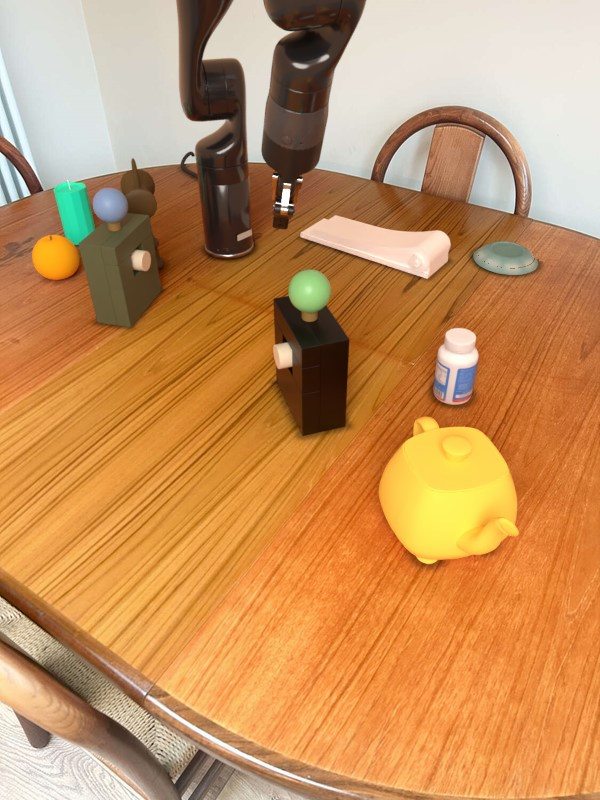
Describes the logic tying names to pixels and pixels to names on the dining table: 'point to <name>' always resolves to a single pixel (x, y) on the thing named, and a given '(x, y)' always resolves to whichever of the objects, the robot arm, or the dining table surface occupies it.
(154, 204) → the kendama
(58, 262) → the orange fruit
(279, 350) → the stubby beige cylinder
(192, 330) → the dining table surface
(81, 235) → the candle
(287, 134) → the robot arm
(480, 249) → the saucer
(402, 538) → the teapot
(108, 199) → the olive block with peg
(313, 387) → the dark block with knob
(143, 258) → the peach round puck
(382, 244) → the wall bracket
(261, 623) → the dining table surface
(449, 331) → the pill bottle
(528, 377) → the dining table surface
